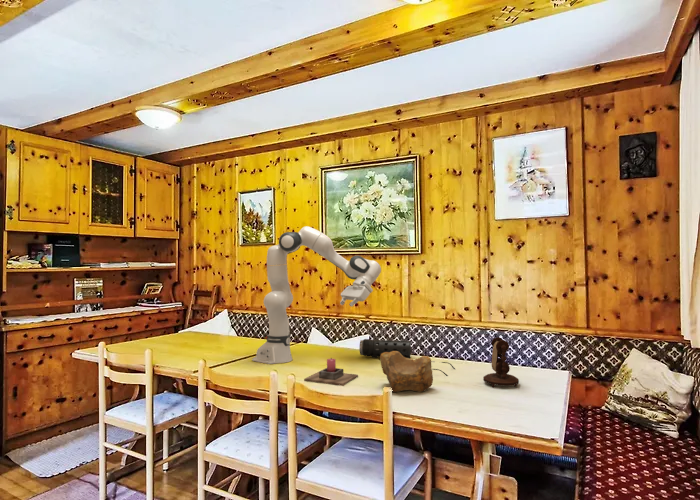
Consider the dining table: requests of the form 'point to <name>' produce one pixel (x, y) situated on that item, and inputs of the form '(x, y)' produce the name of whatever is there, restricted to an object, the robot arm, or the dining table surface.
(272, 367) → the dining table surface
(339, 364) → the dining table surface
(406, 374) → the rough brown rock
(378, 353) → the muzzle brake
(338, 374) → the candle board
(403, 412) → the dining table surface
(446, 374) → the eyeglasses
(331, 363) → the candle
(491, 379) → the dark brown ornamental stand
